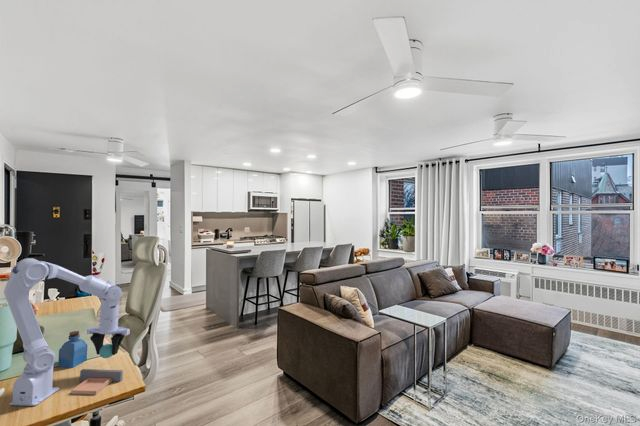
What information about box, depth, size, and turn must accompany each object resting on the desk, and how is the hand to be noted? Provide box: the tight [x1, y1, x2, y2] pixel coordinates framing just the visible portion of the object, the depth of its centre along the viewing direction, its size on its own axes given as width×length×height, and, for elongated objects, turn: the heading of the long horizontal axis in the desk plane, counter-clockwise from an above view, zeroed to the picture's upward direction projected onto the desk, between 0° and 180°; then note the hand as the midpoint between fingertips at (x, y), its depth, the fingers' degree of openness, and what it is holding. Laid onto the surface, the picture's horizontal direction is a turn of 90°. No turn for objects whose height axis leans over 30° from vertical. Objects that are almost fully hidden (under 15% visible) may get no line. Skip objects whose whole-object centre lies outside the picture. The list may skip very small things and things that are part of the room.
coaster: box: [70, 378, 113, 396], centre depth 108 cm, size 8×8×1 cm
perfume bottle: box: [57, 330, 88, 369], centre depth 124 cm, size 6×6×12 cm
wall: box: [79, 368, 124, 383], centre depth 112 cm, size 1×14×4 cm, turn 92°
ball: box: [99, 343, 113, 359], centre depth 118 cm, size 5×5×5 cm
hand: (107, 353), depth 118 cm, fingers closed on ball, 5 cm apart
